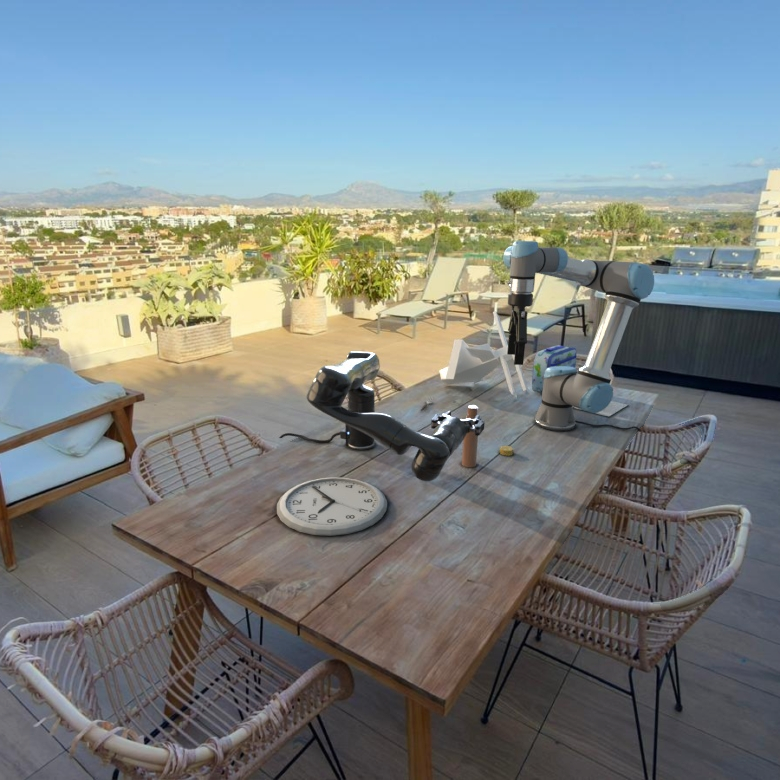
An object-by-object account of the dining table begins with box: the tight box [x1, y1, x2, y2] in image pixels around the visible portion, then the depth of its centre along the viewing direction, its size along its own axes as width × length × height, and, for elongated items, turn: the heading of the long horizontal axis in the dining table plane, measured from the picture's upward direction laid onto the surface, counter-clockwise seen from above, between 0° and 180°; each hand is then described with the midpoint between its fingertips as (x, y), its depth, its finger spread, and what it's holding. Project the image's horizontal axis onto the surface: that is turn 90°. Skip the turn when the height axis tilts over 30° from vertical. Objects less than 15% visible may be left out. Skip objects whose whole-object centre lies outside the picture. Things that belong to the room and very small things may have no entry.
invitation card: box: [573, 400, 629, 418], centre depth 226 cm, size 21×1×15 cm
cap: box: [499, 445, 514, 457], centre depth 178 cm, size 4×4×2 cm
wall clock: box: [276, 476, 388, 537], centre depth 142 cm, size 30×2×30 cm
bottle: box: [461, 404, 479, 468], centre depth 166 cm, size 5×5×20 cm
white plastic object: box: [438, 310, 531, 400], centre depth 245 cm, size 37×45×31 cm
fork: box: [420, 396, 435, 411], centre depth 223 cm, size 3×16×2 cm, turn 160°
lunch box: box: [531, 345, 577, 394], centre depth 245 cm, size 26×11×21 cm, turn 134°
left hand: (463, 415), depth 153 cm, fingers open, 8 cm apart
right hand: (514, 359), depth 168 cm, fingers open, 13 cm apart
